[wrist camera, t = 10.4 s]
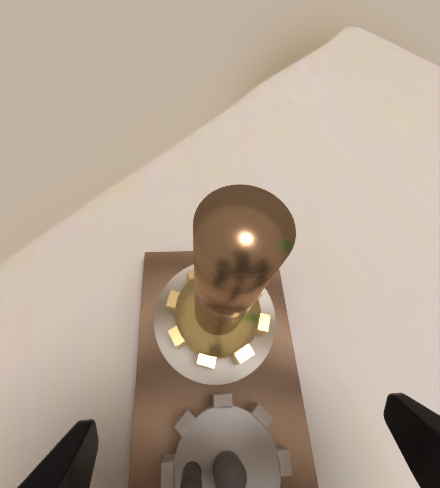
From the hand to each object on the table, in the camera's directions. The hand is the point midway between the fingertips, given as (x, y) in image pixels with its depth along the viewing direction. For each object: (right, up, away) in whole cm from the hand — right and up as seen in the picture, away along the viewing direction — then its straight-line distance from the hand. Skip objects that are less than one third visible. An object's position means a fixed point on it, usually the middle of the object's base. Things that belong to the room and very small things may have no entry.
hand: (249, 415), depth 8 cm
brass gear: (-1, 0, +12) cm, 12 cm away
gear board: (-1, -5, +11) cm, 12 cm away
